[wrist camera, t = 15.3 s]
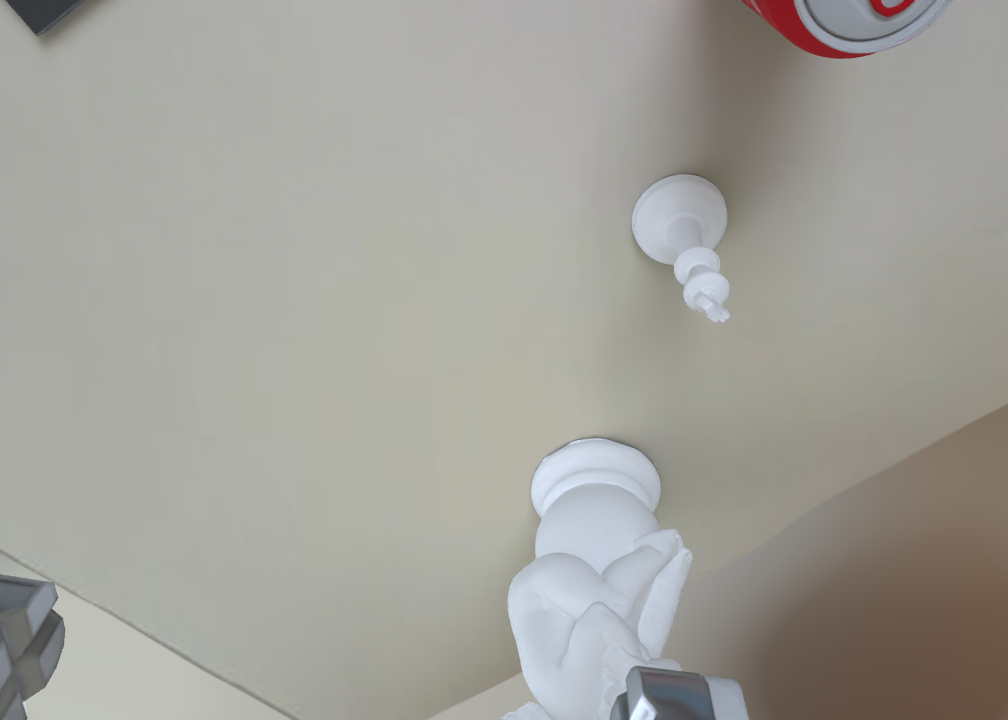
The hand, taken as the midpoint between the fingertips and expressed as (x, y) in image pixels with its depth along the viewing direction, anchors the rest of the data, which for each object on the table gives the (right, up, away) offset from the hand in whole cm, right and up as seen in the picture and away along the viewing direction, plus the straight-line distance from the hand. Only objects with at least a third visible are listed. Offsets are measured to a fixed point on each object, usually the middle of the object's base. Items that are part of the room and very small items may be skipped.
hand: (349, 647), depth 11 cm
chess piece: (+11, +12, +30) cm, 34 cm away
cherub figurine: (+7, -6, +42) cm, 43 cm away
